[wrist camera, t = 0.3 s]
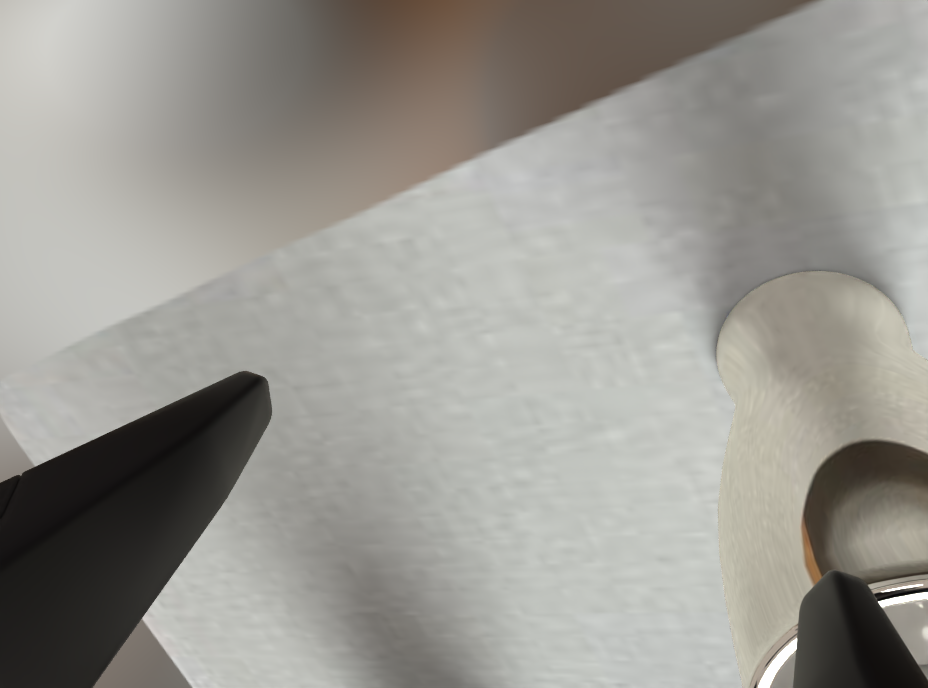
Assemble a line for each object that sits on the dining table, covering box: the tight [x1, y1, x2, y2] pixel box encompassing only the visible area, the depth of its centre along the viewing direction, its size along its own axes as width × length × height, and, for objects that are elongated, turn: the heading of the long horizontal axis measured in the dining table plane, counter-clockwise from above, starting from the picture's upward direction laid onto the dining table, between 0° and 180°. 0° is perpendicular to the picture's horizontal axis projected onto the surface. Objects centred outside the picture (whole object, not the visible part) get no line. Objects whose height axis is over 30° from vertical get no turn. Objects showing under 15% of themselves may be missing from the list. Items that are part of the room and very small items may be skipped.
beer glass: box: [716, 271, 928, 688], centre depth 16 cm, size 7×7×15 cm
